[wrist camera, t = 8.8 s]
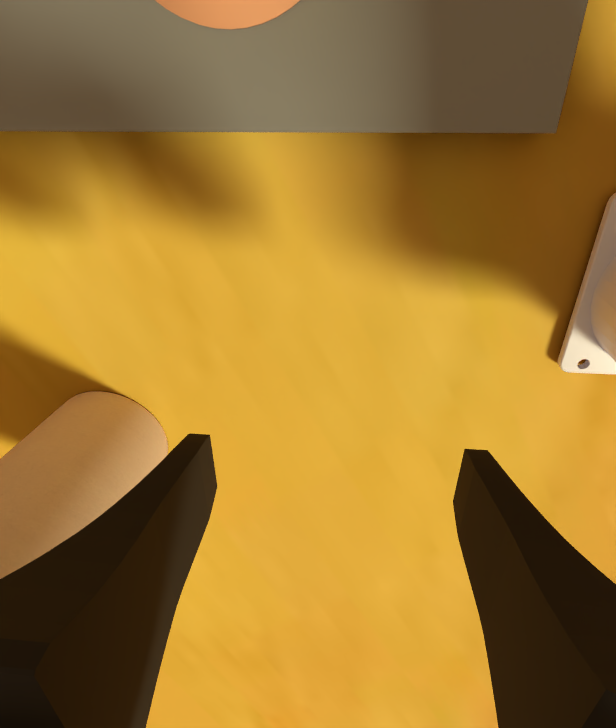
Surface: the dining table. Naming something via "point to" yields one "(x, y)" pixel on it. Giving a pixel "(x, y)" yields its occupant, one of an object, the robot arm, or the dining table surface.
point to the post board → (286, 65)
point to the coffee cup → (73, 472)
